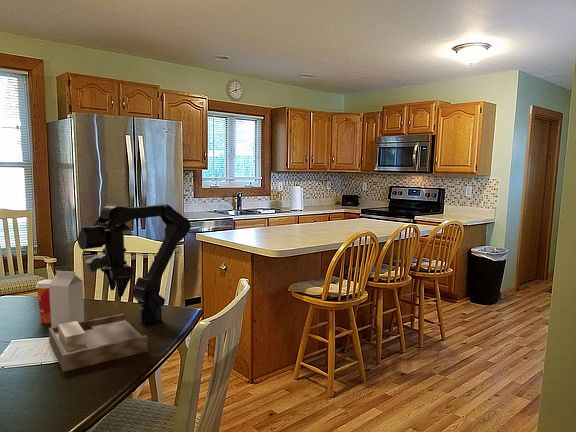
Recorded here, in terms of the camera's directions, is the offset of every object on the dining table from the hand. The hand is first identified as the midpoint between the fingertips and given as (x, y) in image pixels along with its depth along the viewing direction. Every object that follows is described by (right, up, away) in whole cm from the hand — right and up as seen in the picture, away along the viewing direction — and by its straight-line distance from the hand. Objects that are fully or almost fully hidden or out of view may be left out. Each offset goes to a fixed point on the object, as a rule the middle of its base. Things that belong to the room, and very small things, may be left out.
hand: (116, 293), depth 137 cm
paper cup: (-28, -12, +12) cm, 32 cm away
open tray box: (-2, -14, -10) cm, 17 cm away
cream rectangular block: (-7, -12, -14) cm, 19 cm away
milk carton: (-19, -13, +6) cm, 23 cm away
